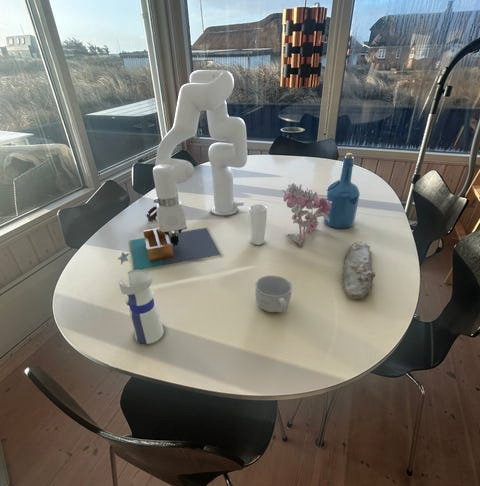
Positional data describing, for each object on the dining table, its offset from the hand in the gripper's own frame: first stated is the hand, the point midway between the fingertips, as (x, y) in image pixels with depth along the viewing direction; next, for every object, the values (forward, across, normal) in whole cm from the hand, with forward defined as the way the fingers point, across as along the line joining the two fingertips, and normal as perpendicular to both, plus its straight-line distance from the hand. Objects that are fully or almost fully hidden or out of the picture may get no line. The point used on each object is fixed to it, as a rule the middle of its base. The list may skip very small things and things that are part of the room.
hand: (175, 243), depth 128 cm
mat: (+2, -1, 0) cm, 2 cm away
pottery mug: (+2, -2, +28) cm, 28 cm away
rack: (+1, -6, 0) cm, 7 cm away
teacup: (+2, +22, -47) cm, 52 cm away
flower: (+2, +53, -7) cm, 54 cm away
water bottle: (+2, -15, -45) cm, 47 cm away
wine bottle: (+2, +72, -4) cm, 72 cm away
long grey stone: (+2, +57, -39) cm, 69 cm away
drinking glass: (+2, +32, -7) cm, 33 cm away
